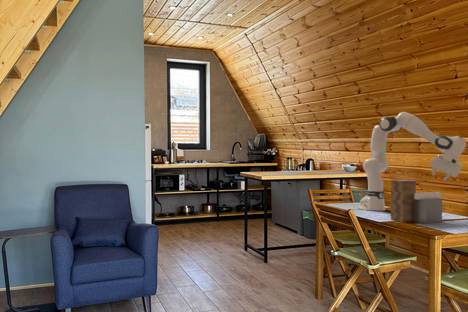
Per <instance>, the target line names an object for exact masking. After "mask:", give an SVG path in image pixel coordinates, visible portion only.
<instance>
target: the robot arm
mask: <svg viewBox="0 0 468 312" xmlns="http://www.w3.org/2000/svg"><path fill="white" fill-rule="evenodd" d="M402 129H405V130H406V131H407V132H409V133H412V134H413V135H416V136H419V137H420V138H423V139H424V140H426V141H428V142H429V143H431V144H432V145H434V146H435V147H436V148H437V149H438V150H439V153H441V154H442V156H441V155H435V157H434V158H433V159H432V161H431V162H430V163H429V166H430V167H431V168H432V172H431V175H432V176H435V175H436V174H437V173H436V171H439V172H441V173H444V174H446V176H444V177H442V180H443V181H445V182H446V181H447V179H449V178H451V177H454V178H456V177H458V175H459V174H460V172H461V168H462V167H463V164H462V162H460V161H459V158H460V156H461V154H462V153H464V151H465V148H466V147H467V142H466V139H464V138H463V137H462V136H459V135H455V136H448V135H443V134H442V135H439V136H438V135H437V134H436V133H434V132H433V131H432V130H430V129H429V127H428V126H427V125H426V124H425V122H423V121H422V119H420V118H419V117H417V116H415V115H413V113H409V112H407V111H401V112H399V114H398V115H397V116H385V117H383V118H381V119H379V122H378V124H376V125H375V126H374V127H373V129H372V133H371V138H370V145H369V146H370V147H369V150H370V152H371V155H372V157H370V158H366V160H364V162H363V163H362V168H363V170H364V172H365V173H366V178H367V191H365V194H366V195H365V196H363V197H362V198H361V199H360V200H359V205H357V206H356V209H360V210H365V211H380V212H381V211H386V206H385V198H384V197H385V192H384V179H383V178H382V176H381V173H383V172H385V171H386V170H388V168H389V162H388V159H387V152H386V151H387V149H386V148H387V141H388V135H389V133H395V132H396V133H397V132H399V131H401V130H402Z"/></svg>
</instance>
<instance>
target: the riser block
mask: <svg viewBox="0 0 468 312" xmlns="http://www.w3.org/2000/svg"><path fill="white" fill-rule="evenodd" d="M413 221H414V222H413ZM413 221H412V222H413V223H419V224H424V225H428V224H429V225H430V224H439V223H443V198H442V197H441V198H433V199H420V200H418V199H414V198H413Z"/></svg>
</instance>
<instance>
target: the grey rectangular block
mask: <svg viewBox="0 0 468 312" xmlns="http://www.w3.org/2000/svg"><path fill="white" fill-rule="evenodd" d="M433 198H441V199H442V191H441V192H440V191H431V192H429V191H427V192H416V193H414V199H418V200H420V199H433Z"/></svg>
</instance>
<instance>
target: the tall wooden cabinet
mask: <svg viewBox="0 0 468 312" xmlns="http://www.w3.org/2000/svg"><path fill="white" fill-rule="evenodd" d="M389 181H390V190H391V191H390V220H391V221H396V222H401V223H406V222H407V221H408V222H413V198H414V193H417V191H416V189H417V187H416V185H417V183H416V182H417V180H414V179H390V180H389ZM408 222H407V223H408Z"/></svg>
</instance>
